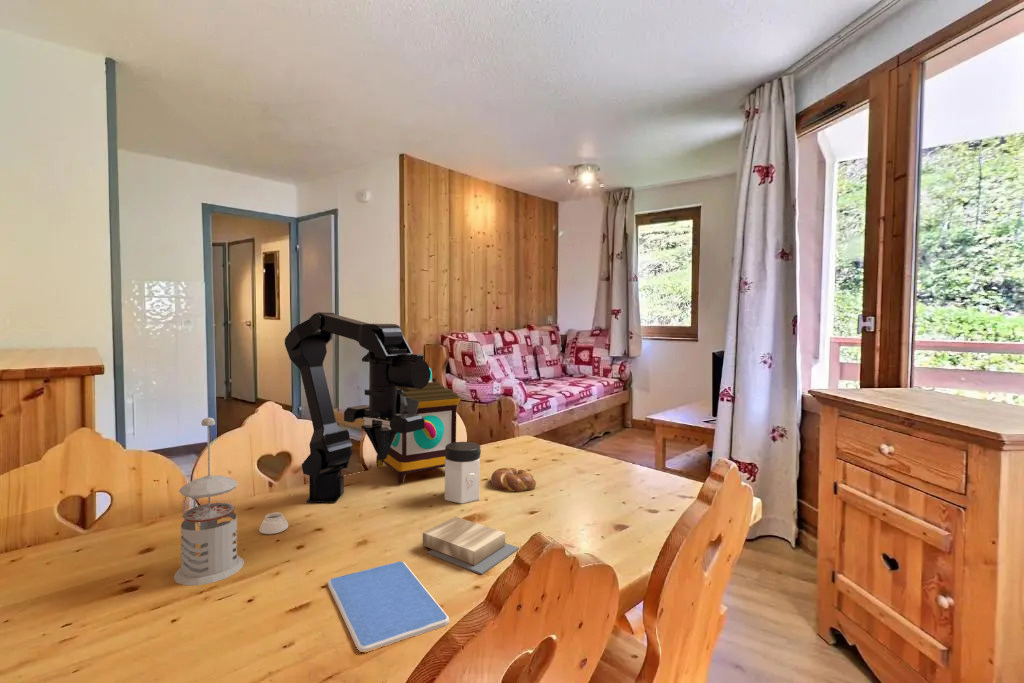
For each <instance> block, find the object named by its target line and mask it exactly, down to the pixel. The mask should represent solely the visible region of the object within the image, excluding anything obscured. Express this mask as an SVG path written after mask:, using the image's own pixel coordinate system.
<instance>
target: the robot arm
mask: <svg viewBox="0 0 1024 683" xmlns="http://www.w3.org/2000/svg"><path fill="white" fill-rule="evenodd" d="M333 335H337V336H341V337H343V338H346V339H350V340H354V341H356V342H357V343H358V345H359V346H360V347H361V348H363V349H365V350H367V351H368V352H367V354H366V355H364V356H362V358H361V362H362V363H369V364H368V367H369V368H368V369H369V372H368V389H367V388H366V389H364V395H365V396H368V404H362V405H361V404H360V405H355V406H349V407H347V408H346V409H345V410H344V412H343V421H344V422H347V423H355V422H356V420H358V419H363V420H364V422H363V424H364V425H361V426H360V427H361V429H362V430H364V433H365V434H366V435H367V438H368V439H369V441H370V442H371V445H372V447H373V449H374V450H375V453H376V456H377V455H378V457H379V459H381V460H384V459H386V458H387V455H388V452H389V450H390V447H391V444H392V441H393V439H394V437H395V435H396V433H397V432H398V433H409V432H413V431H417V430H421V429H425V419H424V417H423V416H422V415H419V414H416V413H417V409H418V405H419V401H417V400H414V399H411V398H408V397H404V396H403V391H402V389H398V386H399V387H407V388H415V389H422V388H424V387H425V386H426V385H427V384H428V382H429V380H430V375H431V371H432V370H431V371H430V369H431V368H430V369H429V367H430V366H429V364H428V363H427V361H425V360H424V359H425V358H424V357H425V356H424V354H422V353H416V354H415V353H414V352H413V350H412V348H411V347H410V345H409V343H408V341H407V340H406V338H405V336H404V334H403V332H402V328H401V326H400V325H399V324H397V323H368V322H365V321H361V320H357V319H353V318H350V317H346V316H343V315H340V314H336V313H334V312H321V311H319V312H316V313H313V314H312V315H311V316H310V317H309V318H308V319H306V320H305V321H302V322H300V323H299V324H297V325H295V326H294V327H293V329H291V330H290V331H289V332H288V334H287V335H286V336H285V338H284V346H285V349H286V352H287V354H288V357H289V360H290V361H291V363H293V364H294V365H295V366H296V367H297V368H298V369H299V373H300V375H301V380H302V384H303V389H304V393H305V397H306V402H307V406H308V407H307V408H308V411H309V414H310V418H311V423H312V428H313V432H312V435H311V439H310V442H309V450H310V451H309V455H307V457H306V459H305V460H304V461H303V462H302V464H301V468H302V469H301V470H302V474H304V475H307V476H309V478H308V479H309V480H308V482H309V483H308V484H309V486H308V487H309V494H308V495H309V497H307V499H306V503H337V501H339V499H340V498H341V497H342V495H343V494H344V493H345V488H344V487H345V486H344V485H345V483H344V482H345V477H344V475H342V470H344V469H347V468H348V467H349V462H350V459H351V456H352V455H353V450H352V448H353V447H354V446H353V443H352V442H351V438H350V432H349V431H348V429H342V428H341V427H340V426H339V425H338V423H337V420H336V416H335V411H334V407H333V402H332V398H331V394H330V391H329V390H330V389H329V385H328V381H327V378H326V372H325V369H324V361H325V359H326V356H327V353H328V351H327V349H328V348H327V345H328V343H330V342H331V341H332V340H333ZM404 413H405V414H404ZM397 414H402V415H397ZM386 418H388V419H386Z"/></svg>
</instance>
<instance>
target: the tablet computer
mask: <svg viewBox="0 0 1024 683" xmlns="http://www.w3.org/2000/svg"><path fill="white" fill-rule="evenodd" d="M327 587H328V589H329V591H330V594H331V595H332V598H333V600H334V602H335V604H336V606H337V607H338V610H339V612H340V615H341V616H342V619H343V621H344V624H345V626H346V628H347V630H348V632H349V635H350V636H351V638H352V641H353V643H354V645H355V647H357V648H356V650H357V649H358V650H359V651H368V650H371V649H374V648H377V647H378V648H379V647H381V646H385V645H389V644H392V643H394V642H397V641H400V640H402V639H405V638H409V637H412V636H415V637H417V636H420V635H423V634H427V633H429V632H432V631H434V630H437V629H440V628H443V627H445V626H447V625H448V624H449V623H450V617H449V615H448V614H447V613H446V612H445V610H444V609H443V608H442V607H441V606H440V605H439V603H438V602H437V601H436V600H435V598H434V597H433V596H432V595H431V593H430V592H429V591H428V589H427V588H426V586H424V585H423V583H422V582H421V581H420V580H419V578H418V577H417V575H415V574H414V572H413V571H412V569H410V567H409V566H408V565H407V564H406V562H404V561H396V562H392V563H389V564H384V565H380V566H376V567H372V568H368V569H365V570H360V571H355V572H352V573H348V574H344V575H340V576H336V577H333V578H332V577H331V578H330V579H329V580H328V581H327ZM412 638H413V637H412ZM409 639H410V638H409ZM400 642H401V641H400ZM397 643H398V642H397ZM392 645H393V644H392ZM389 646H390V645H389ZM358 650H357V651H358ZM359 651H358V652H359Z"/></svg>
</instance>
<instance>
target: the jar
mask: <svg viewBox="0 0 1024 683" xmlns="http://www.w3.org/2000/svg"><path fill="white" fill-rule="evenodd" d="M481 452H482V450H481V445H480V444H479V443H476V442H472V441H456V442H454V443H450V444H447V445H446V447H445V457H446V459H445V467H444V500H445V501H447V502H453V503H456V504H457V503H458V504H466V503H467V504H468V503H471V502H472V503H473V502H475V501H480V469H481V468H480V466H481V465H480V463H481V462H480V461H481Z"/></svg>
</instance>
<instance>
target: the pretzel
mask: <svg viewBox="0 0 1024 683" xmlns="http://www.w3.org/2000/svg"><path fill="white" fill-rule="evenodd" d="M490 482H491V485H492V487H493V488H494V489H496V490H500V491H509V492H513V491H512V490H514V492H517V491H519V492H523V490H525V491H531V489H532V490H534V489H535V488H536V485H537V482H536V479H534V476H533V474H532V473H530V472H527V471H526V470H524V469H518V470H517V469H516V468H513V467H509V468H507V467H502V468H498V469H496V470H495V471H493V473H492V474H491V476H490Z"/></svg>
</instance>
